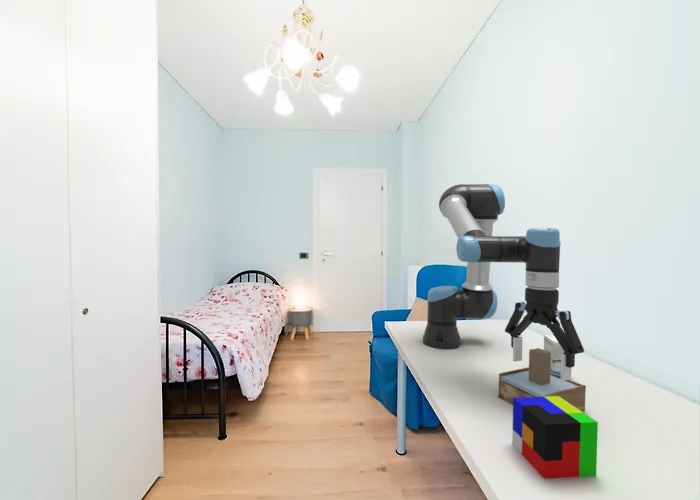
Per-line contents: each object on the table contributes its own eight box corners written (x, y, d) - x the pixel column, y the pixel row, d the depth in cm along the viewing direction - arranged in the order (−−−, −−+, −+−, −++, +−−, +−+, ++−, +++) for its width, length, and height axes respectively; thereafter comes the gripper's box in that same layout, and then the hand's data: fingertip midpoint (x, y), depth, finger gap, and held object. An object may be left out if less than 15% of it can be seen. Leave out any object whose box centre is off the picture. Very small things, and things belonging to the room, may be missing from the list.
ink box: (570, 381, 101) (571, 343, 100) (552, 379, 102) (553, 341, 101) (558, 370, 109) (559, 335, 109) (542, 369, 110) (543, 334, 110)
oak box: (498, 396, 90) (498, 373, 90) (534, 388, 96) (534, 365, 96) (546, 423, 77) (547, 395, 77) (584, 411, 83) (585, 385, 83)
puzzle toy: (512, 444, 69) (513, 397, 69) (557, 442, 70) (558, 396, 70) (544, 479, 59) (545, 424, 59) (596, 476, 60) (597, 422, 60)
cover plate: (501, 379, 89) (501, 346, 89) (535, 372, 95) (536, 341, 94) (543, 400, 78) (544, 362, 78) (580, 390, 83) (581, 355, 83)
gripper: (492, 282, 95) (491, 355, 96) (582, 296, 73) (580, 391, 73) (511, 281, 98) (510, 352, 99) (603, 294, 75) (601, 386, 76)
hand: (539, 369), depth 86 cm, fingers open, 13 cm apart
